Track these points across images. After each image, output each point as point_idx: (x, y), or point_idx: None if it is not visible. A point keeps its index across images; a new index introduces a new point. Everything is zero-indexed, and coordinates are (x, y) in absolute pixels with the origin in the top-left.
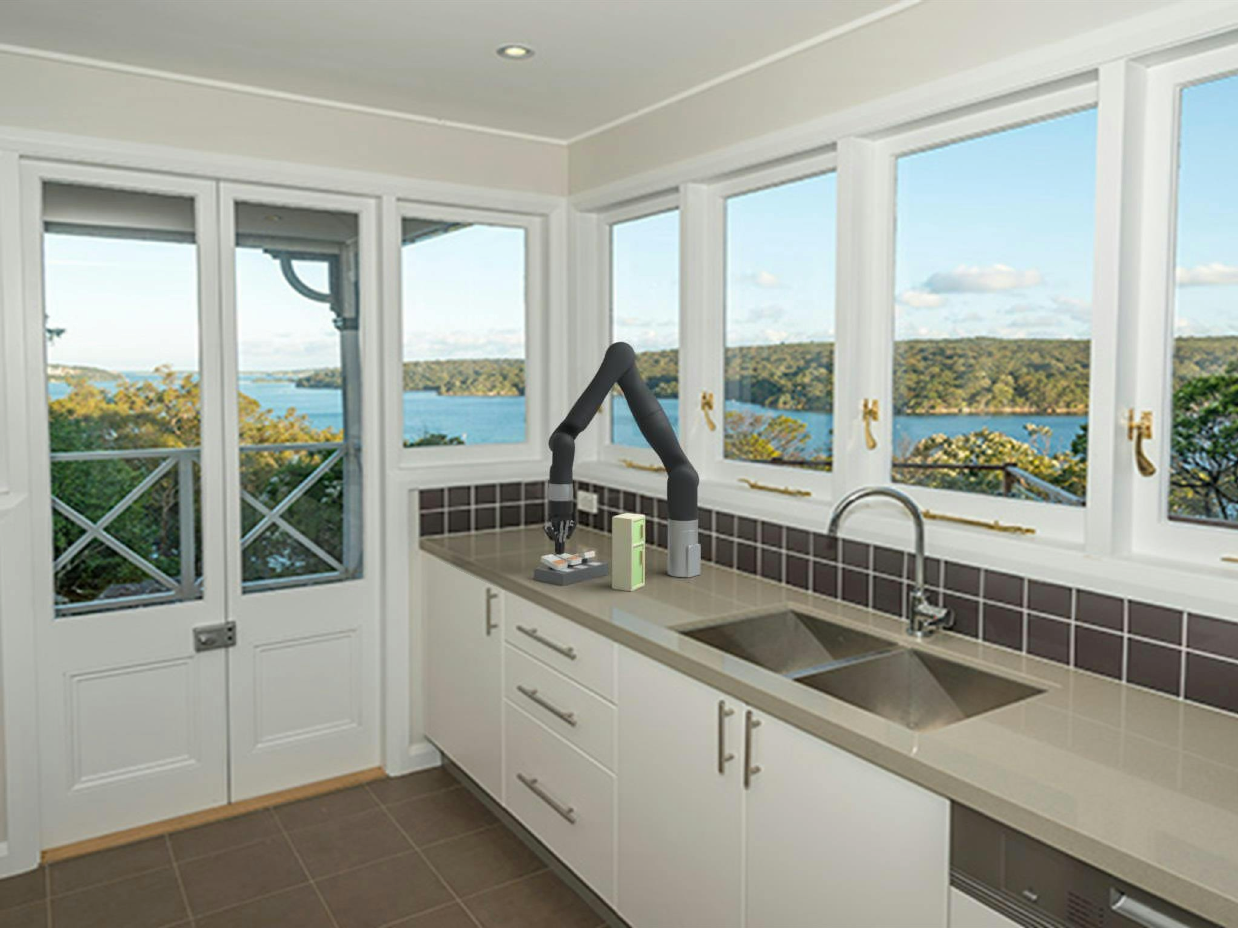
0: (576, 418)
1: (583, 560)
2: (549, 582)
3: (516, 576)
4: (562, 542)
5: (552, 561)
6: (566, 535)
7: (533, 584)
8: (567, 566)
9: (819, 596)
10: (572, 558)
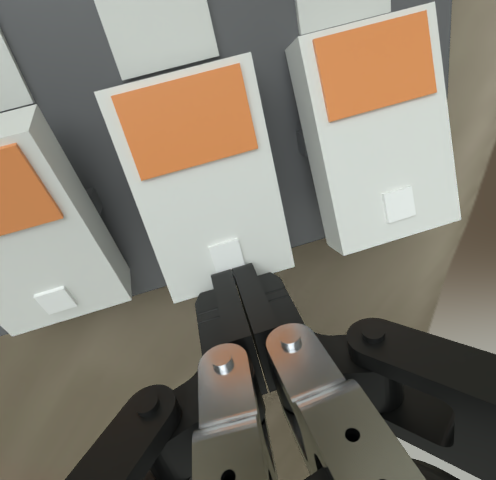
0: None
1: None
2: None
3: (407, 282)
4: (245, 342)
5: (428, 102)
6: (175, 439)
7: (480, 72)
8: None
9: None
10: (217, 93)
